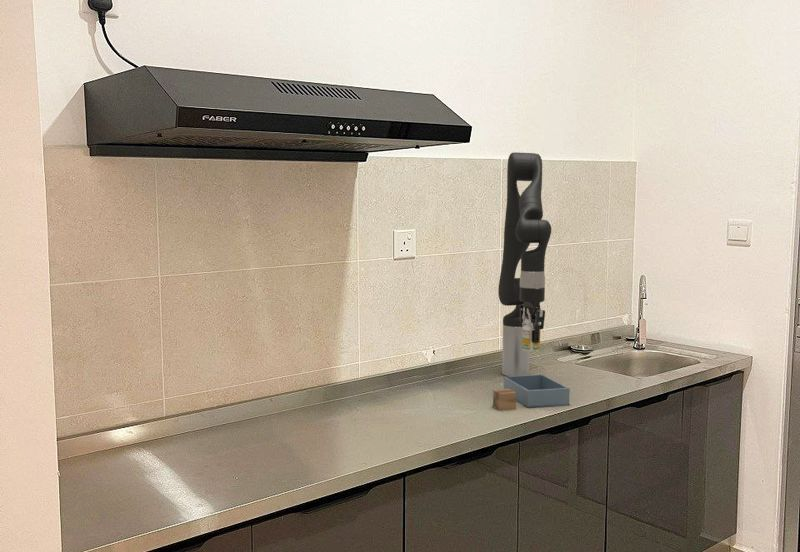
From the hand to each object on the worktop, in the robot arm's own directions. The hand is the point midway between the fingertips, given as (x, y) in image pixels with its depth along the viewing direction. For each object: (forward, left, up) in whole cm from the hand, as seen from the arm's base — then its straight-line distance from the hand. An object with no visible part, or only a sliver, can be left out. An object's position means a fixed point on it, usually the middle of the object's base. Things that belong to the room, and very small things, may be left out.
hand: (531, 340), depth 234 cm
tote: (+4, 0, -17) cm, 18 cm away
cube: (+11, -13, -17) cm, 24 cm away
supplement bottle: (0, 0, -3) cm, 3 cm away
